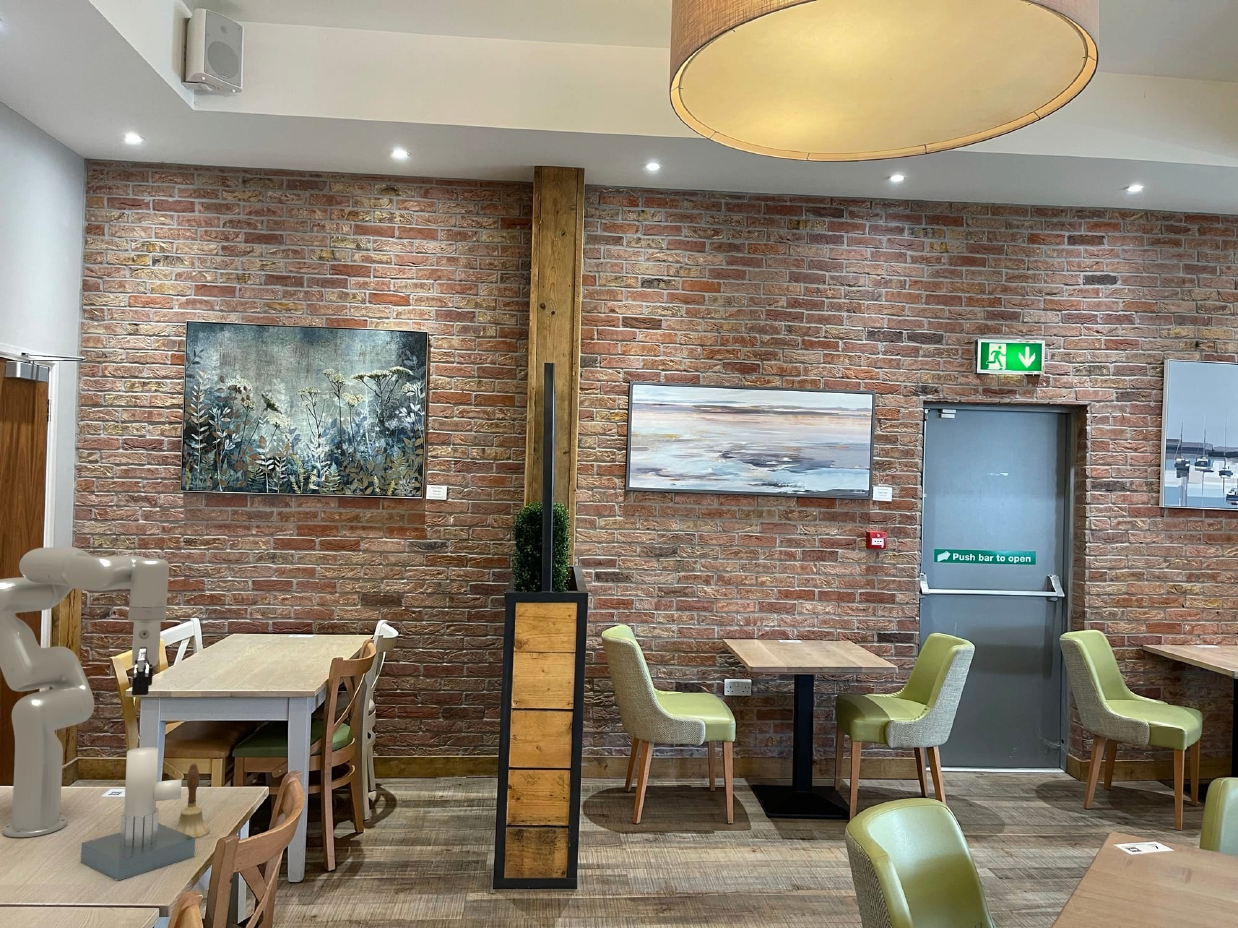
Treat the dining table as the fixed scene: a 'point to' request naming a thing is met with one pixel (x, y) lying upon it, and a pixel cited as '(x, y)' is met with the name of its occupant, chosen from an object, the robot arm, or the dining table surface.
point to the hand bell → (192, 809)
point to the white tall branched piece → (146, 783)
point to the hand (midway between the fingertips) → (142, 689)
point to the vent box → (137, 847)
